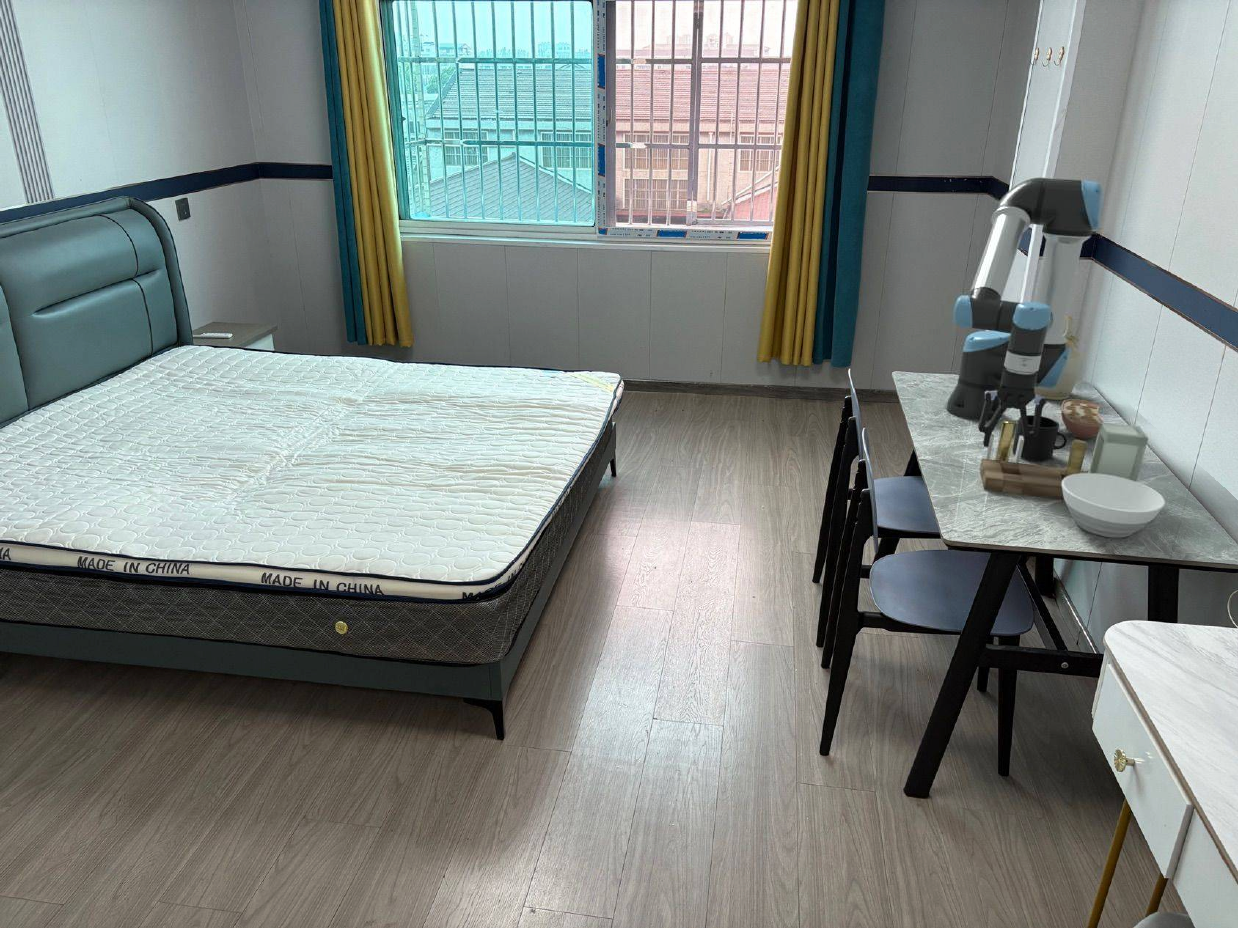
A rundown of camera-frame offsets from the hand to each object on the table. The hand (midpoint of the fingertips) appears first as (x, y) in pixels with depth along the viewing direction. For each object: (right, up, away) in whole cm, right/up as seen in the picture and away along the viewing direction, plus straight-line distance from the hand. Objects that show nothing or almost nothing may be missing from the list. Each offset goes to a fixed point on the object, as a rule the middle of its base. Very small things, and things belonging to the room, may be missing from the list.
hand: (1001, 460), depth 219 cm
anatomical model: (+33, +9, +29) cm, 45 cm away
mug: (+13, +1, +9) cm, 16 cm away
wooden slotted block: (+7, -6, -10) cm, 14 cm away
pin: (0, -2, +1) cm, 2 cm away
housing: (+19, -5, -14) cm, 24 cm away
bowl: (+10, -14, -27) cm, 33 cm away
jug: (+38, +20, +56) cm, 71 cm away
